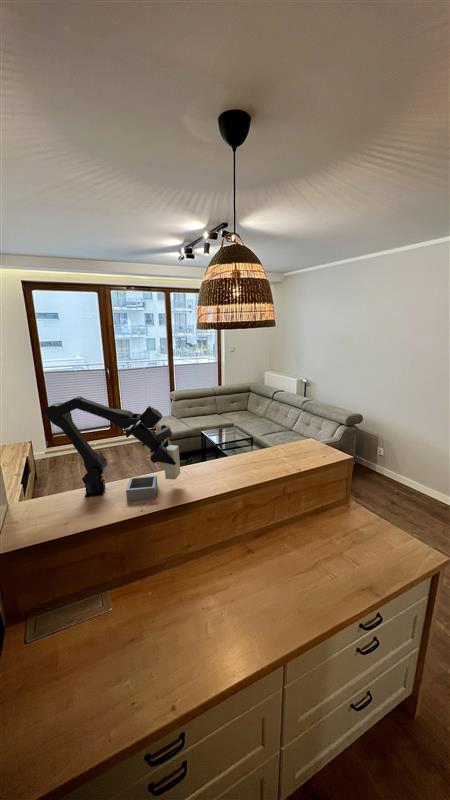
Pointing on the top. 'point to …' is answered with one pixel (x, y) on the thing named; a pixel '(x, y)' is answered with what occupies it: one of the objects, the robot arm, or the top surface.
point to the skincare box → (172, 470)
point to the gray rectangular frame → (142, 488)
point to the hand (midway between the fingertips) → (175, 460)
